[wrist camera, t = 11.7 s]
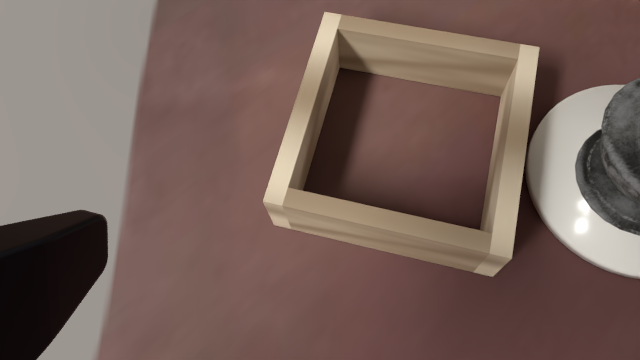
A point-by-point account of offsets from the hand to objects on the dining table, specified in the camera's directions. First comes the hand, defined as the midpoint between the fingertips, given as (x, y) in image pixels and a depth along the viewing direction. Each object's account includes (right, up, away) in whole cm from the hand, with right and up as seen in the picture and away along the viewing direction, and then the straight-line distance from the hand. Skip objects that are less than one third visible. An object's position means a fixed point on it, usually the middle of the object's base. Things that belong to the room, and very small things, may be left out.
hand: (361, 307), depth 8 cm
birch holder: (+3, +3, +16) cm, 17 cm away
